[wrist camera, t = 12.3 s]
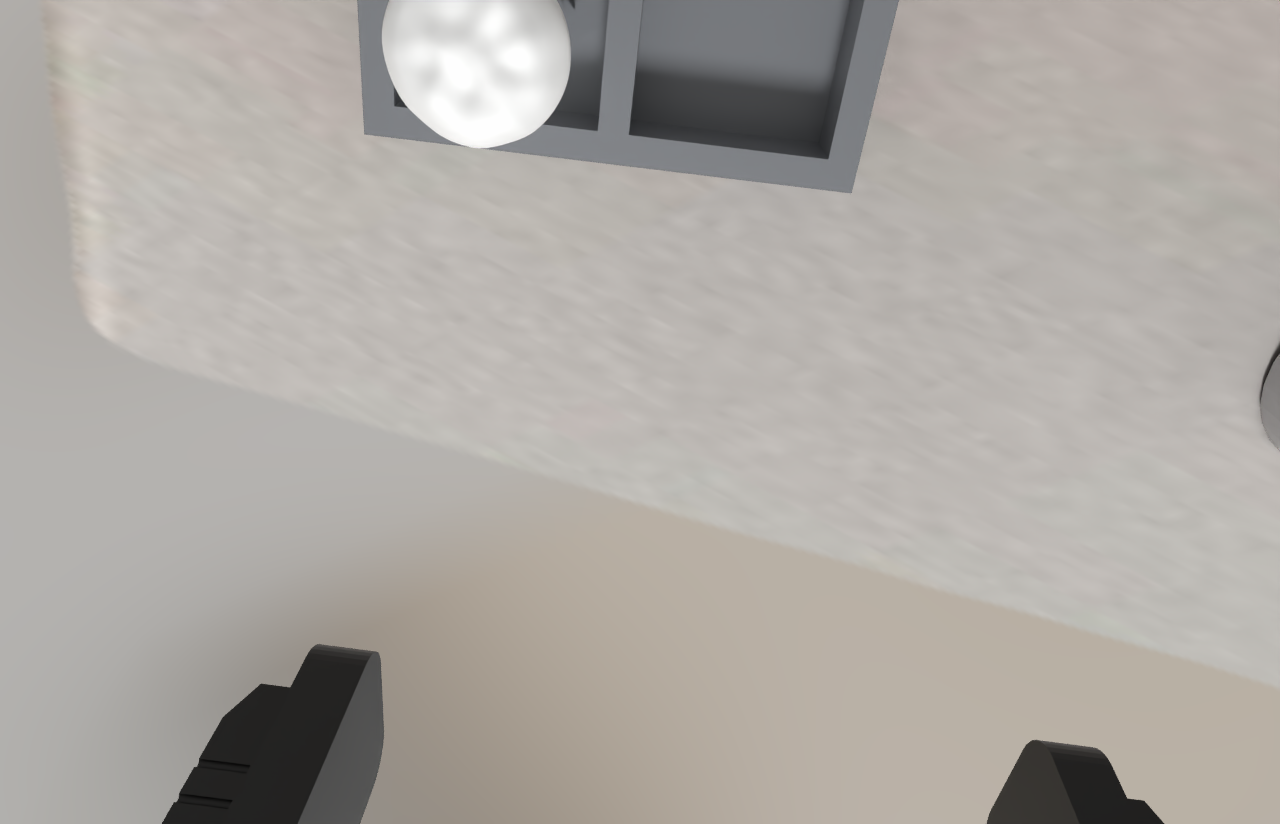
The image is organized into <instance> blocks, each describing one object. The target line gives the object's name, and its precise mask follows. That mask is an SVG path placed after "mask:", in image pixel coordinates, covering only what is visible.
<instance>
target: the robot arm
mask: <svg viewBox="0 0 1280 824" xmlns="http://www.w3.org/2000/svg"><path fill="white" fill-rule="evenodd" d="M1260 406H1261V418H1262V424H1263V426H1264V429H1265V431H1266V433H1267V436H1268V438H1269V439H1270V441H1271V442H1272V443H1273V444H1274V445H1275V446H1276V447H1277V448H1278V450H1279V451H1280V354H1279V355H1278V357H1277V358H1276V360H1275V361H1274V363H1273V365H1272V367H1271V369H1270V372H1269V374H1268V376H1267V378H1266V381H1265V383H1264V387H1263V392H1262V398H1261V403H1260ZM383 739H384V724H383V701H382V679H381V660H380V656H379V653H378V652H374V651H367V650H359V649H352V648H344V647H336V646H328V645H321V644H317V645H315V646H314V647H313V648H312V649H311V650H310V651H309V653H308V655H307V656H306V658H305V660H304V662H303V664H302V666H301V668H300V670H299V672H298V674H297V676H296V678H295V680H294V682H293V684H292V685H291V687H290V688H289V687H282V686H274V685H267V684H260V685H259V686H258V687H257V688H256V689H255V690H253V691H252V692H251V693H250V694H249V695H248V696H247V697H246V698H244V699H243V700H242V701H241V702H240V703H239V704H237V705H236V706H235V707H234V708H233V709H232V710H231V711H230V712H228V713H227V714H226V715H225V716H224V717H223V718H222V720H221V722H220V723H219V725H218V727H217V729H216V731H215V732H214V734H213V735H212V737H211V739H210V741H209V742H208V744H207V746H206V748H205V750H204V751H203V753H202V755H201V756H200V758H199V764H198V766H197V767H194V769H193V770H192V772H191V774H190V775H189V777H188V779H187V781H186V783H185V784H184V786H183V788H182V789H181V791H180V793H179V799H178V801H177V802H174V803H173V805H172V807H171V808H170V810H169V812H168V814H167V815H166V817H165V819H164V821H163V822H162V824H360V822H361V819H362V817H363V814H364V811H365V808H366V806H367V803H368V800H369V797H370V794H371V792H372V789H373V786H374V783H375V780H376V776H377V773H378V769H379V765H380V759H381V755H382V748H383ZM987 824H1164V823H1163V822H1162V821H1161V819H1160V818H1159V817H1158V816H1157V815H1156V814H1155V813H1154V812H1153V810H1152V809H1151V808H1150V807H1149V806H1148V805H1147V804H1146V803H1145V801H1142V800H1134V799H1127V797H1126V795H1125V793H1124V791H1123V789H1122V786H1121V784H1120V782H1119V780H1118V778H1117V776H1116V774H1115V772H1114V770H1113V767H1112V765H1111V763H1110V762H1109V760H1108V758H1107V757H1106V756H1105V754H1103V753H1102V752H1101V751H1100V750H1098V749H1097V748H1093V747H1085V746H1078V745H1070V744H1063V743H1055V742H1047V741H1039V740H1032V741H1030V742H1029V743H1028V744H1027V745H1026V746H1025V748H1024V749H1023V751H1022V753H1021V755H1020V757H1019V759H1018V760H1017V763H1016V764H1015V766H1014V768H1013V770H1012V772H1011V774H1010V776H1009V777H1008V779H1007V781H1006V783H1005V785H1004V787H1003V789H1002V791H1001V793H1000V794H999V796H998V798H997V800H996V802H995V804H994V806H993V807H992V809H991V811H990V814H989V817H988V820H987Z"/></svg>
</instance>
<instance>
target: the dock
mask: <svg viewBox="0 0 1280 824" xmlns="http://www.w3.org/2000/svg"><path fill="white" fill-rule="evenodd" d="M388 2H389V0H357V3H358V22H359V41H360V60H361V79H362V99H363V118H364V134H366V135H374V136H383V137H391V138H399V139H407V140H416V141H424V142H432V143H440V144H449V145H457V146H464V145H460V144H457V143H455V142H452V141H450V140H448V139H446V138H444V137H442V136H441V135H439V134H437V133H436V132H435V131H433V130H432V129H431V128H430V127H428V126H427V125H426V124H425V123H423V122H422V121H421V120H420V119H419V118H418V117H417V116H416V115H415V114H414V113H413V112H412V111H411V110H410V109H409V108H408V107H407V106H406V105H405V103H404V102H403V101H402V99H401V98H400V96H399V94H398V92H397V90H396V89H395V86H394V84H393V82H392V80H391V77H390V75H389V72H388V69H387V66H386V62H385V58H384V53H383V47H382V26H383V20H384V15H385V11H386V8H387V5H388ZM898 2H899V0H572V4H573V7H574V11H575V13H574V20H573V27H572V34H571V64H570V72H569V77H568V82H567V85H566V88H565V91H564V93H563V96H562V98H561V100H560V102H559V103H558V105H557V107H556V108H555V110H554V111H553V113H552V114H551V115H550V117H549V118H548V119H547V120H546V121H545V122H544V123H543V124H542V125H541V126H540V127H539V128H538V129H537V130H536V131H534V132H533V133H531V134H530V135H528V136H526V137H524V138H522V139H519V140H517V141H514V142H510V143H507V144H504V145H500V146H495V147H490V148H482V149H490V150H498V151H506V152H515V153H523V154H531V155H539V156H548V157H556V158H564V159H572V160H581V161H589V162H597V163H605V164H614V165H622V166H630V167H638V168H647V169H655V170H663V171H671V172H680V173H688V174H696V175H704V176H713V177H721V178H729V179H737V180H746V181H754V182H762V183H770V184H779V185H787V186H795V187H803V188H812V189H820V190H828V191H837V192H845V193H852V189H853V185H854V181H855V177H856V173H857V168H858V164H859V160H860V156H861V152H862V148H863V144H864V140H865V136H866V132H867V128H868V124H869V120H870V116H871V111H872V107H873V103H874V99H875V95H876V91H877V87H878V83H879V79H880V75H881V71H882V67H883V63H884V59H885V55H886V50H887V46H888V42H889V38H890V34H891V30H892V26H893V22H894V18H895V14H896V10H897V6H898ZM465 147H468V146H465Z"/></svg>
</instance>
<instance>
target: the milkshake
mask: <svg viewBox="0 0 1280 824" xmlns="http://www.w3.org/2000/svg"><path fill="white" fill-rule="evenodd" d="M574 13H575V11H574V7H573V4H572V0H389V2H388V5H387V8H386V11H385V15H384V20H383V26H382V47H383V53H384V58H385V62H386V66H387V69H388V72H389V75H390V77H391V80H392V82H393V84H394V86H395V89H396V90H397V92H398V94H399V96H400V98H401V99H402V101H403V102H404V103H405V105H406V106H407V107H408V108H409V109H410V110H411V111H412V112H413V113H414V114H415V115H416V116H417V117H418V118H419V119H420V120H421V121H422V122H423V123H425V124H426V125H427V126H428V127H430V128H431V129H432V130H433V131H435V132H436V133H437V134H439V135H441V136H442V137H444V138H446V139H448V140H450V141H452V142H455V143H457V144H460V145H464V146H468V147H473V148H490V147H495V146H500V145H504V144H507V143H510V142H514V141H517V140H519V139H522V138H524V137H526V136H528V135H530V134H531V133H533V132H534V131H536V130H537V129H538V128H539V127H540V126H541V125H542V124H543V123H544V122H545V121H546V120H547V119H548V118H549V117H550V115H551V114H552V113H553V111H554V110H555V108H556V107H557V105H558V103H559V102H560V100H561V98H562V96H563V93H564V91H565V88H566V85H567V82H568V77H569V72H570V64H571V34H572V27H573V20H574Z"/></svg>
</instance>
